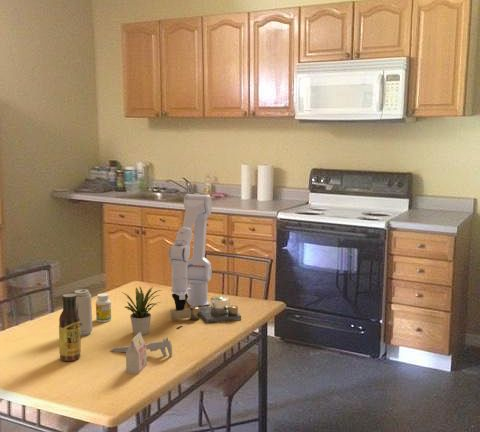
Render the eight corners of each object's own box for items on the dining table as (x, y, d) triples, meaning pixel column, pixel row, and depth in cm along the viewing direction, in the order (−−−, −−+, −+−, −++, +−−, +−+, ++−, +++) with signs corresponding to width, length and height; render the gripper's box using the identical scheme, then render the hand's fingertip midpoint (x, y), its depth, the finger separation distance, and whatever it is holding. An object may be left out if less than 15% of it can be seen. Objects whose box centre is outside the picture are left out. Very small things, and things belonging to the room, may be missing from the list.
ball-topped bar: (198, 316, 215) (198, 305, 215) (200, 319, 212) (200, 308, 211) (169, 319, 212) (169, 308, 211) (171, 322, 209) (171, 311, 208)
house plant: (173, 332, 199) (172, 286, 196) (141, 343, 189) (140, 295, 186) (147, 323, 208) (146, 279, 206) (115, 333, 198) (114, 286, 196)
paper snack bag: (126, 373, 166) (125, 339, 165) (134, 363, 173) (134, 331, 171) (138, 374, 165) (137, 340, 164) (146, 364, 172) (146, 332, 170)
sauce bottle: (69, 364, 172) (66, 299, 169) (55, 359, 175) (52, 296, 172) (86, 356, 178) (83, 294, 175) (72, 352, 181) (69, 291, 178)
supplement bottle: (112, 321, 210) (111, 295, 209) (97, 323, 208) (96, 297, 207) (109, 317, 215) (109, 292, 214) (95, 318, 213) (94, 293, 211)
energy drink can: (70, 333, 198) (69, 291, 195) (86, 329, 202) (84, 287, 200) (80, 337, 194) (78, 294, 191) (95, 333, 198) (94, 290, 196)
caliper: (172, 356, 179) (172, 337, 178) (171, 358, 178) (170, 338, 177) (111, 351, 183) (110, 332, 182) (109, 352, 182) (109, 333, 181)
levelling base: (167, 314, 218) (166, 296, 217) (229, 308, 226) (229, 291, 225) (176, 329, 202) (176, 310, 201) (243, 321, 210) (243, 303, 209)
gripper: (193, 281, 205) (193, 318, 207) (187, 272, 219) (188, 306, 221) (173, 283, 204) (174, 320, 206) (169, 273, 218) (169, 307, 220)
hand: (180, 313), depth 213 cm, fingers closed
